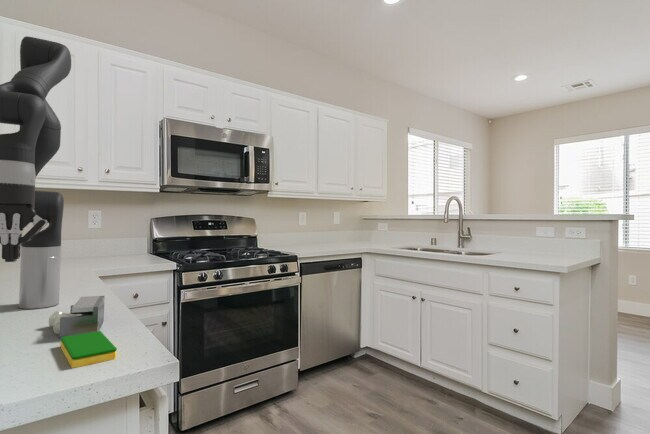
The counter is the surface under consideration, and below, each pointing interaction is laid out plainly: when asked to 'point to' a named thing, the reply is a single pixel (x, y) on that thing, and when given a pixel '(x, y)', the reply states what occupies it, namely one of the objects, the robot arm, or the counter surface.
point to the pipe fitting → (58, 320)
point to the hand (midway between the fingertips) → (10, 261)
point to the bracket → (84, 317)
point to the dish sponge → (87, 349)
